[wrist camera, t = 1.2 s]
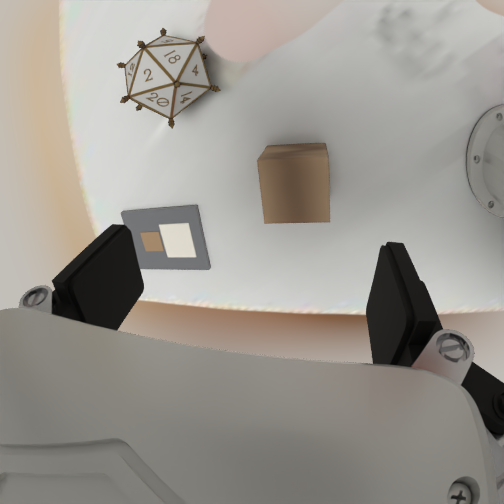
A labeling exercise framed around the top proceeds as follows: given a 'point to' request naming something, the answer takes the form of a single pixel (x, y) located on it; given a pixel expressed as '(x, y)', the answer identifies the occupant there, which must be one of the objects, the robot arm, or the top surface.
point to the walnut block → (295, 183)
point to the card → (168, 238)
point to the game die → (167, 75)
